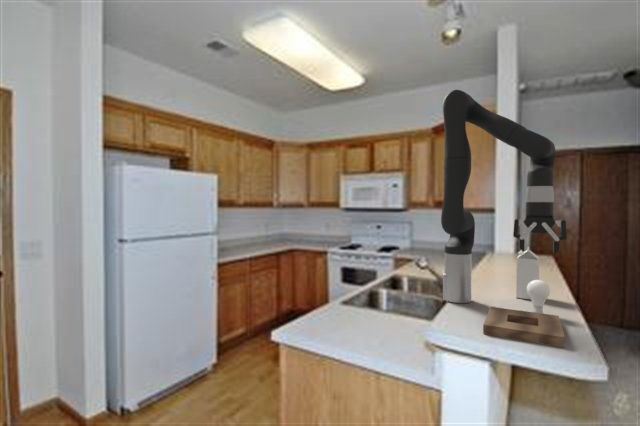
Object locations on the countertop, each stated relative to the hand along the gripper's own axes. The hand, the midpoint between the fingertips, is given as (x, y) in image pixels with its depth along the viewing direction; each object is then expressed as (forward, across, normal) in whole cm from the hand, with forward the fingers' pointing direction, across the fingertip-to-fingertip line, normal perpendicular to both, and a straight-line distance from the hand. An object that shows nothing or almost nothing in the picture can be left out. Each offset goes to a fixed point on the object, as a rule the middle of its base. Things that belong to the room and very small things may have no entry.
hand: (538, 252), depth 113 cm
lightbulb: (+20, 0, 0) cm, 20 cm away
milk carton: (+20, -3, +23) cm, 31 cm away
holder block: (+20, -4, -18) cm, 27 cm away
